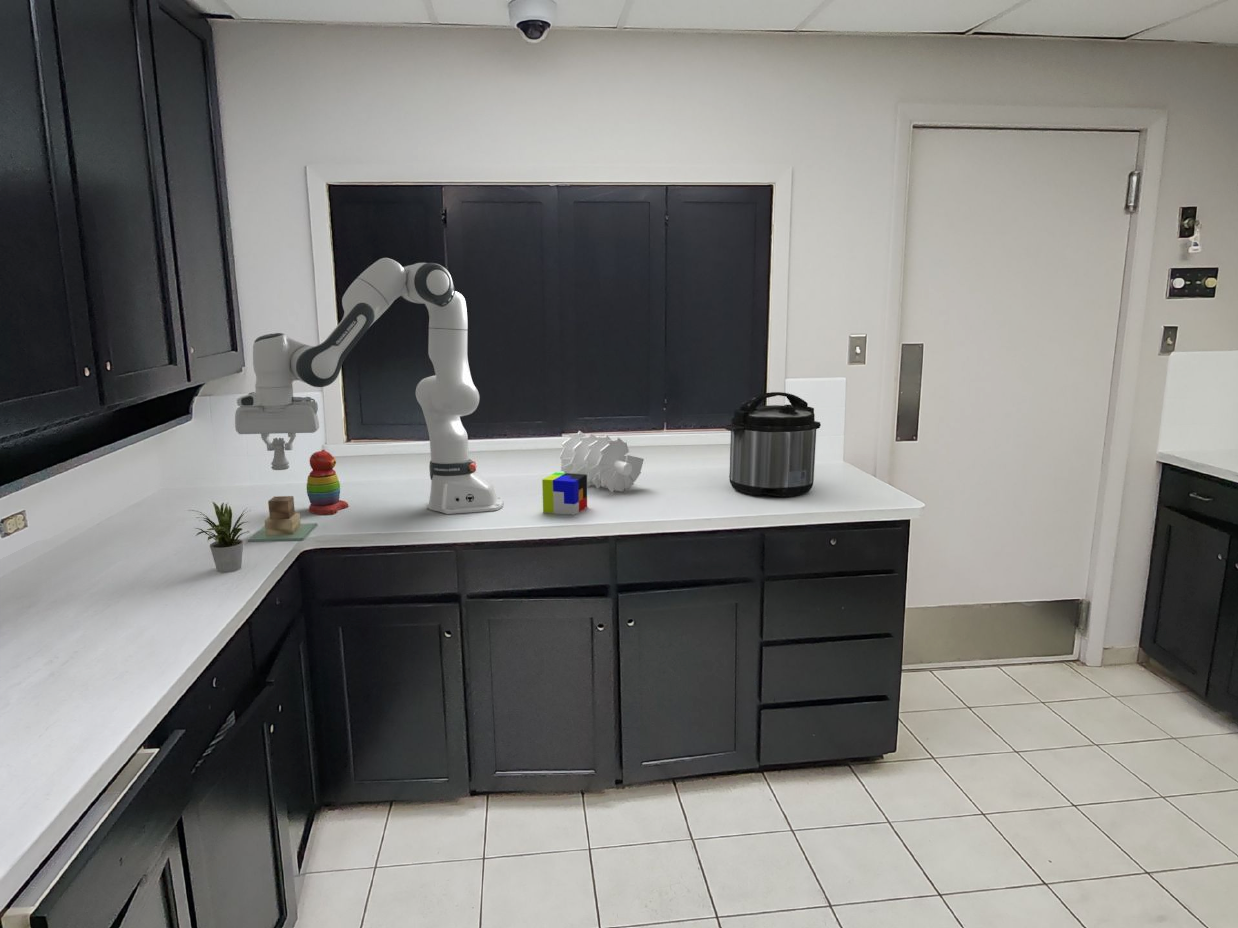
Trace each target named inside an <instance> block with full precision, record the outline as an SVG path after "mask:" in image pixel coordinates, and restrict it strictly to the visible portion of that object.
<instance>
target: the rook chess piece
mask: <svg viewBox="0 0 1238 928" xmlns="http://www.w3.org/2000/svg"><path fill="white" fill-rule="evenodd" d="M284 438H285V437H284ZM284 438H283V437H279V438H278V437H275V438H273V439H272V441H271V443H273V444H274V448H273V449H274V451H273V452H274V453H273V458H272V461H271V463H270V465H272V466H271V469H272V470H273V471H285V470H289V468H290V465H289V464H290V463H289V461H288V459H287V458H286V454H285V445H284V444H285V443H286V441H285V439H284Z"/></svg>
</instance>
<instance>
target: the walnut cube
mask: <svg viewBox="0 0 1238 928" xmlns="http://www.w3.org/2000/svg"><path fill="white" fill-rule="evenodd" d="M267 502H268V512H269V513H268V514H269V515H268V517H270V519H290V518H291V517H292V516H293V515H294V514H295V513H296V511H295V510H296V508H295V500H294V496H293V495H284V496H283V495H281V496H278V495H277V496H272V498H270V499H268V501H267Z"/></svg>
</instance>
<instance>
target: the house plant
mask: <svg viewBox="0 0 1238 928" xmlns="http://www.w3.org/2000/svg"><path fill="white" fill-rule="evenodd" d="M211 503H212V505H213V507H214V511H215V515H216V518H217V521H218V524H216V523H215V522H213V520H211V519H210V518H209V517H208V516H207V515H206V514H204V513H203V512H201V511H198V510H196V512H198V513H199V515H201V517H197V519H198V518H200V519H202V516H204V517H203V519H202V521H204V522H206V523H207V524H208V525H209V526H210V528H207V529H206V530H203V529H202V528H198V527H195V529H197V530H200V531H199V532H197V533H196V535H195V537H197V536H198V535H200V534H203V533H204V535H206V536H208V537H207V542H208V541H210V540H211V539H214V540H215V541H214V542H212V543H210V544H209V548H210V549H209V550H210V551H211V555H212V558H213V561H214V565H215V569H216V570H217V572H218V573H231V572H236V571H238V570H241V569H242V564H243V563H242V562H243V549H244V540H242V539H239V538H240V537H241V536H242V535H243V534H247V533H249V534H251V532H250V531H244V532H241V531H242V530H243V528H242V527H240V526H242V525H243V524H245V523H246V521H241V519H242V518H243V516H244V515H245V514H246V513H248V512H251V511H252V510H251V509H250V510H249V511H247V512H246V510H247V508H245V509H244V510H243V511H242V513H241V515H239V517H238V518H237V520H236V522H235V523H234V525H233V527H232V524H233V522H232V520H233V510H232V508H231V506H230V505H228V504H229V501H227V503H225V502H222V503H221V504H220V507H219V506H218V504H217V503H216V502H215V501H211ZM224 505H225V507H224ZM187 511H189V512H190V511H191V512H195V510H193V509H189V510H187ZM200 519H199V520H198V522H199V521H201V520H200ZM240 521H241V522H240ZM248 523H251V522H250V521H248ZM211 531H214V532H215V533H216V534H217V535H216V534H215V533H214V532H211ZM240 532H241V533H240Z"/></svg>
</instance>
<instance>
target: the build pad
mask: <svg viewBox="0 0 1238 928" xmlns="http://www.w3.org/2000/svg"><path fill="white" fill-rule="evenodd" d="M318 526H319V525H318V523H317V522H315V523H311V522H310V523H309V522H308V523H301V527H300V528H299V529H298V530H297V531H296V532H295V533H294V534H293V535H266V532H265V524H264V525H263V526H262V527H261V528H260V529H258V530H257V531H256V532H255V533H254V534H252V535H251V536H250V537H249V538H247V542H248V543H249V542H250V543H253V542H283V541H284V542H286V541H288V542H291V541H304V540H305V539H306V538H307V537H308V536H309V535H310V534H311V533H312V532H313V531H314V529H316V528H317V527H318Z"/></svg>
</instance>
